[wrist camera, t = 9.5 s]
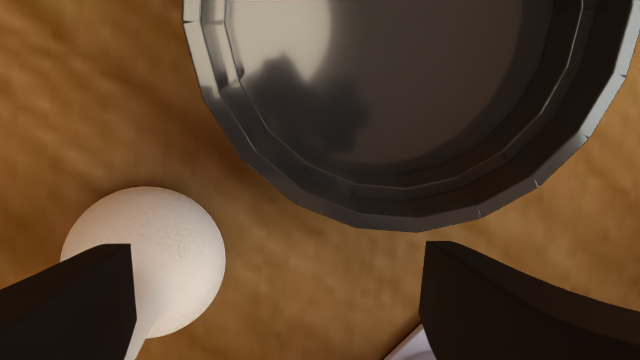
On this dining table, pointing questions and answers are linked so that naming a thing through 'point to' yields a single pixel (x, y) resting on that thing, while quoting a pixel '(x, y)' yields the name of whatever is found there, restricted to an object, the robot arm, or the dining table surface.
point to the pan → (408, 97)
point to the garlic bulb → (157, 255)
